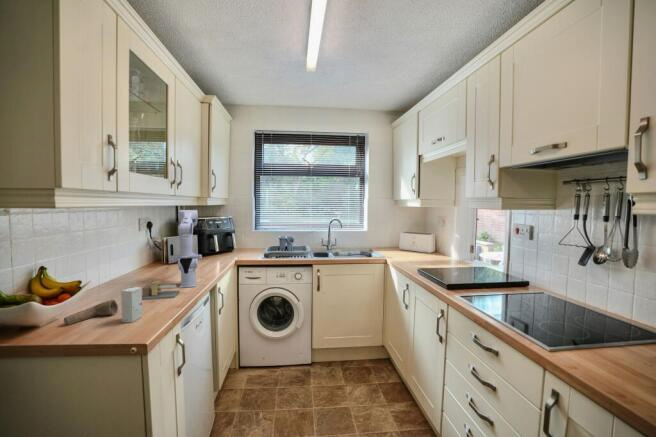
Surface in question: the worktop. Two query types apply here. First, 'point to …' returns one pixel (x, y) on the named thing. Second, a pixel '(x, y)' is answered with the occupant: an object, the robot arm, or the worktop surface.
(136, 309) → the skincare box
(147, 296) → the rail
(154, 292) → the collar
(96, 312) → the pipe
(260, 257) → the worktop surface
